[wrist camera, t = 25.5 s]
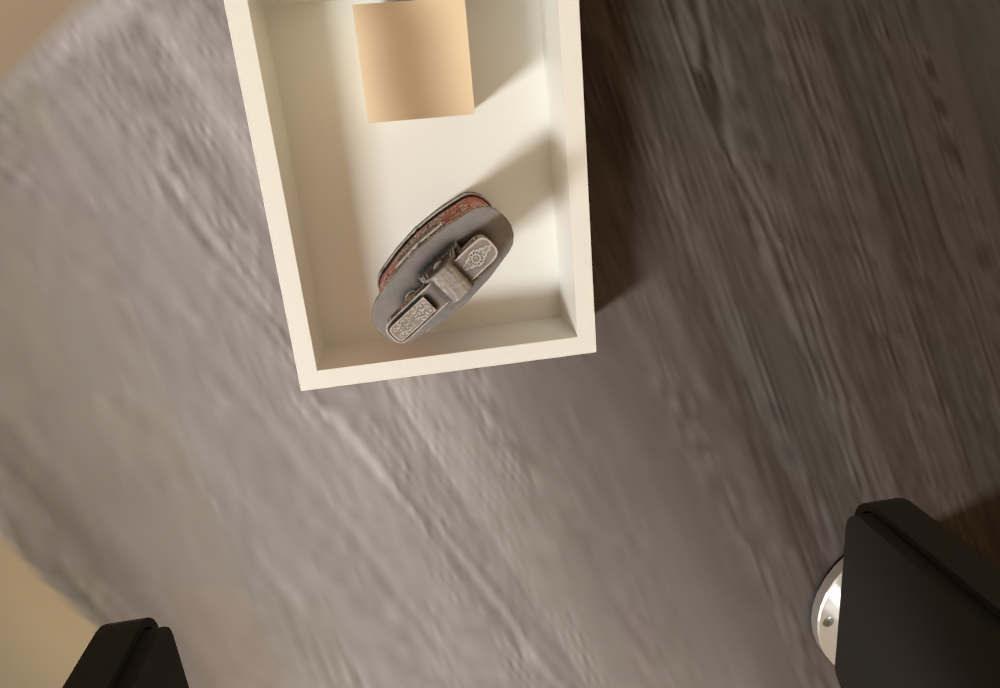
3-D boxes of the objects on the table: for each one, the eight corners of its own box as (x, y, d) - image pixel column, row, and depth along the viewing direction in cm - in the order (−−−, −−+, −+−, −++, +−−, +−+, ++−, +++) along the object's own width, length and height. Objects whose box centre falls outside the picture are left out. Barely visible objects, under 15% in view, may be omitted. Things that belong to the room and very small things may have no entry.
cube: (456, 13, 36) (464, -3, 31) (465, 114, 37) (474, 113, 32) (359, 20, 35) (352, 4, 30) (372, 122, 37) (368, 123, 32)
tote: (553, -36, 36) (576, -59, 32) (574, 326, 43) (596, 351, 38) (242, -12, 35) (217, -33, 30) (313, 359, 41) (301, 390, 36)
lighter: (467, 177, 38) (487, 195, 29) (507, 221, 39) (539, 253, 30) (363, 275, 39) (350, 324, 30) (405, 317, 40) (406, 376, 31)
